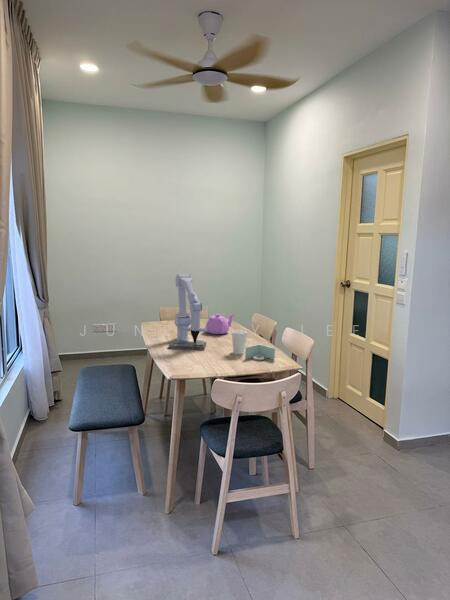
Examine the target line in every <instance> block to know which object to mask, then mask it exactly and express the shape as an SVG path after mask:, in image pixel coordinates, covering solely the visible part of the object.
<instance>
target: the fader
mask: <svg viewBox="0 0 450 600" xmlns="http://www.w3.org/2000/svg"><path fill="white" fill-rule="evenodd" d="M204 340H205V339H204V338H198V337H197V340H196V342H197V345H203V344H204V342H205V341H204Z"/></svg>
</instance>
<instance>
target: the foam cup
mask: <svg viewBox="0 0 450 600" xmlns="http://www.w3.org/2000/svg"><path fill="white" fill-rule="evenodd" d="M247 337H248V331H246V330H243V329H242V330H241V329H234V330H231V342H232V352H233V354H235V355H243V354H245V349H246V342H247V341H246V340H247Z"/></svg>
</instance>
